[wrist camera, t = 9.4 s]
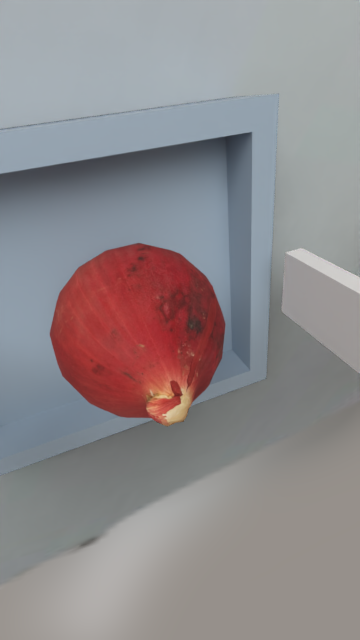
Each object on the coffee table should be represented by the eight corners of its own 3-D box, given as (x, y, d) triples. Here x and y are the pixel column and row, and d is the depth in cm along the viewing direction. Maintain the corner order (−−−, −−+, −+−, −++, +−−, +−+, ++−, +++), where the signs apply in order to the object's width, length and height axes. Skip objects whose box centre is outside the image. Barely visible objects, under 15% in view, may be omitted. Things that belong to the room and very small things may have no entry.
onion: (107, 191, 13) (175, 250, 6) (205, 274, 16) (319, 371, 10) (20, 307, 14) (2, 463, 7) (129, 365, 17) (186, 511, 10)
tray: (-44, 442, 17) (-56, 496, 15) (-251, 163, 10) (-339, 179, 8) (239, 348, 21) (266, 378, 19) (236, 96, 14) (278, 93, 11)
